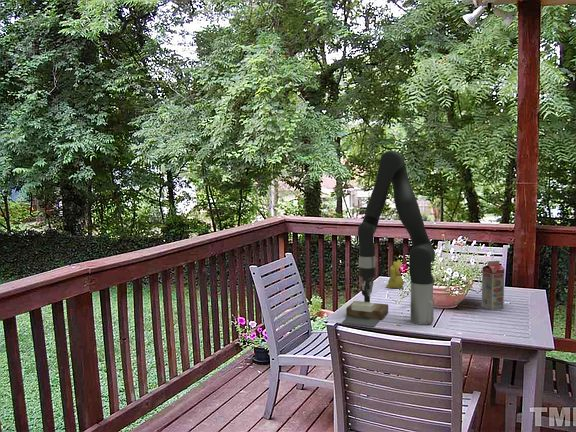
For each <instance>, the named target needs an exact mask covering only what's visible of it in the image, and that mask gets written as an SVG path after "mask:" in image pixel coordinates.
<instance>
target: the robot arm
mask: <svg viewBox="0 0 576 432" xmlns="http://www.w3.org/2000/svg"><path fill="white" fill-rule="evenodd" d="M390 184H392V190H393V200H394V205H395V210H396V212H397V215H398V218H399V220H400V222H401V224H402V225H403V227H404V228H405V230H406V232H407V233H408V234H409V237H410V240H411V241H410V242H411V243H412V244H411V245H412V249H411V250H410V251H409V255H408V264H409V265H408V269H409V270H408V271H409V273H408V274H409V277H410V322H411V323H413V324H417V325H432V324H433V322H434V316H435V315H434V312H435V311H434V310H435V309H434V308H435V305H434V304H435V302H434V301H435V300H434V276H433V274H432V263H433V262H434V261H435V258H436V252H435V249H434V247H433V245H432V243H431V240H430V238H429V236H428V233H427V230H426V226H425V223H424V219H423V217H422V212H421V210H420V207H419V203H418V200H417V198H416V195H415V192H414V190H413V187H412V184H411V183H410V179H409V176H408V171H407V167H406V162H405V157H404V156H403V155H402V153H400V152H398V151H395V150H387V151H384V153H383V154H382V155H381V157H380V160H379V164H378V171H377V175H376V179H375V183H374V185H373V189H372V191H371V194H370V197H369V199H368V203H367V205H366V208H365V214H364V216H363V220H362V222H361V223H360V224H359V225H358V228H357V238H358V245H359V247H358V256H359V257H358V277H360V278H362V280H361V285H360V292H361V294H362V296H363V298H364V299H363V302H371V295H372V292H373V286H374V284H375V283H374V280H372V278H375V277H376V267H377V266H376V265H377V264H376V245H375V244H374V243H375V242H374V241H375V240H374V238H375V237H374V234H375V233H376V231H377V228H378V226H379V225H378V224H379V222H380V217H381V216H382V212H383V210H384V208H385V205H386V202H387V198H388V192H389V188H390Z"/></svg>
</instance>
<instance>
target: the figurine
mask: <svg viewBox="0 0 576 432" xmlns="http://www.w3.org/2000/svg"><path fill="white" fill-rule="evenodd" d="M392 263H393V264H392V265H391V266H390V268H389V272H390V274H389V276H390V277H389V279H388V281H387V283H388V284H386V288H387V289H388V288H389V289H400V288H402V287H403V286H404V284H405V281H403V279H402V278H401V274H400V272H399V268H400V266H402V265H403V264H402V261H401V260H400V259H397V261H393V262H392Z"/></svg>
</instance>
